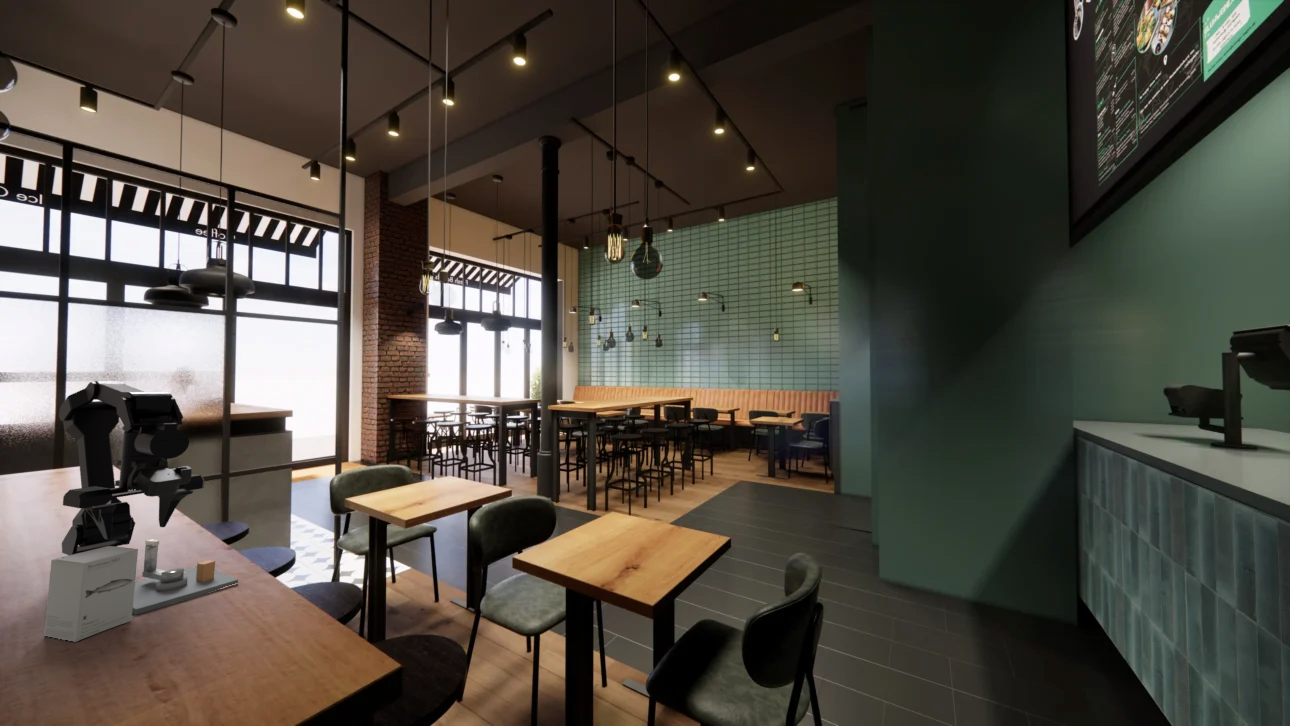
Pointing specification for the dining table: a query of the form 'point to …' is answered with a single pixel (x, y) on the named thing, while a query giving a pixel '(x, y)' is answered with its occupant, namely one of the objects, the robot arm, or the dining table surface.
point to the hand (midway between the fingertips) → (136, 532)
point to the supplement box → (90, 592)
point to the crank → (151, 565)
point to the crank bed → (179, 587)
